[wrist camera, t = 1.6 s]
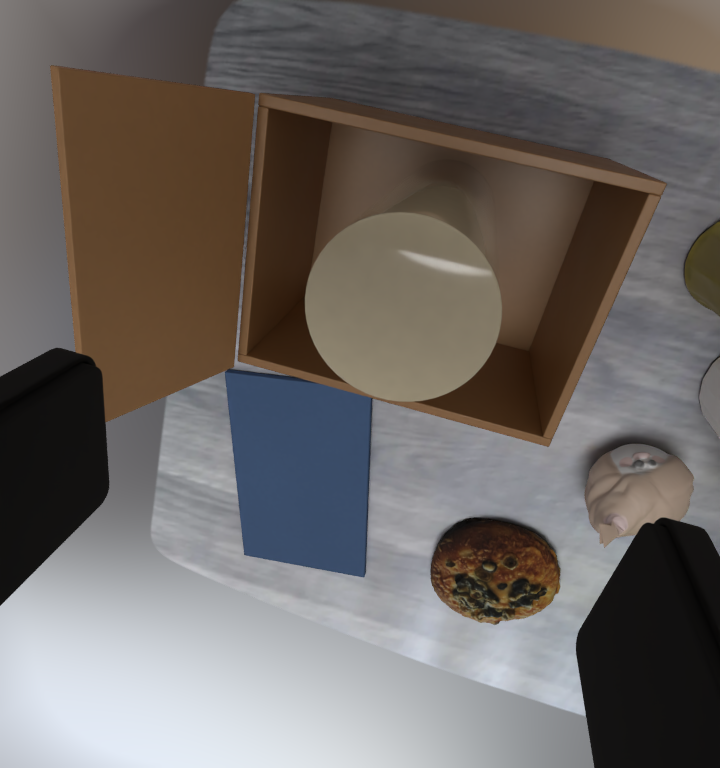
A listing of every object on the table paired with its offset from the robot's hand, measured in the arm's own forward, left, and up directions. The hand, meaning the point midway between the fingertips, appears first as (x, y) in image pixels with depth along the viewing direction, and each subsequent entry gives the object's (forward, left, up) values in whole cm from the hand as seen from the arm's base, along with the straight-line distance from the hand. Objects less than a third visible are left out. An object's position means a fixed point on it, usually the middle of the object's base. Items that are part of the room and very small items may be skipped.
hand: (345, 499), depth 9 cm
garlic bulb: (+23, 0, -29) cm, 37 cm away
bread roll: (+27, -14, -29) cm, 42 cm away
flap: (-7, -8, -12) cm, 16 cm away
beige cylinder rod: (0, 0, -28) cm, 28 cm away
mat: (+11, -23, -29) cm, 38 cm away
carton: (+1, -1, -29) cm, 29 cm away
